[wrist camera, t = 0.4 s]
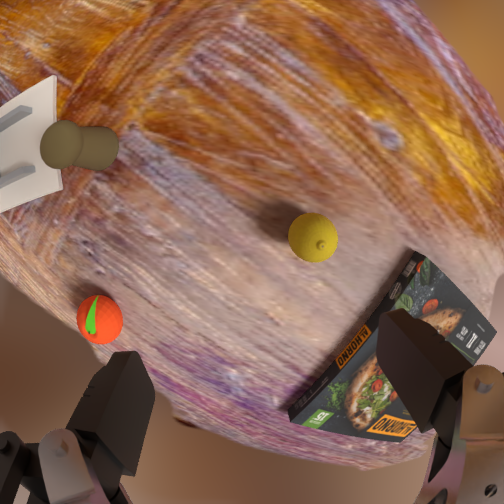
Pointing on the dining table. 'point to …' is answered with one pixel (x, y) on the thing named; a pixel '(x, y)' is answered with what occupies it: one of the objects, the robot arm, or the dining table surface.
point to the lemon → (312, 237)
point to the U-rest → (27, 146)
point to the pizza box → (366, 366)
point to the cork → (78, 146)
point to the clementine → (99, 319)
